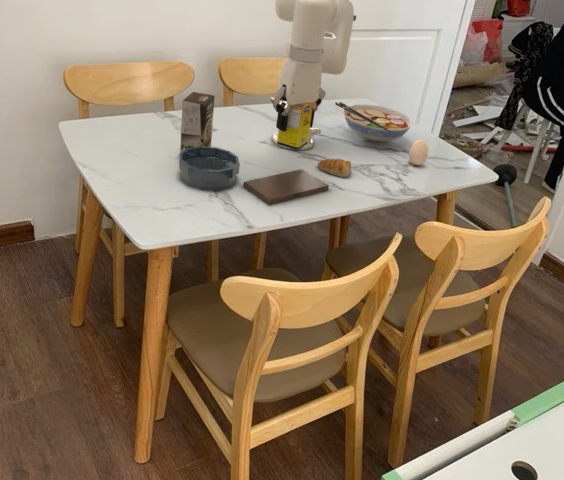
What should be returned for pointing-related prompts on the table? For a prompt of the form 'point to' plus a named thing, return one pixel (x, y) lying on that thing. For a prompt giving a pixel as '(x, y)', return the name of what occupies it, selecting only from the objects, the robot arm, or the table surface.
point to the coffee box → (197, 120)
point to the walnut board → (285, 186)
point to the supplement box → (296, 126)
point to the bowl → (208, 167)
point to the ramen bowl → (376, 121)
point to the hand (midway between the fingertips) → (294, 127)
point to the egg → (418, 152)
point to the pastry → (335, 167)
